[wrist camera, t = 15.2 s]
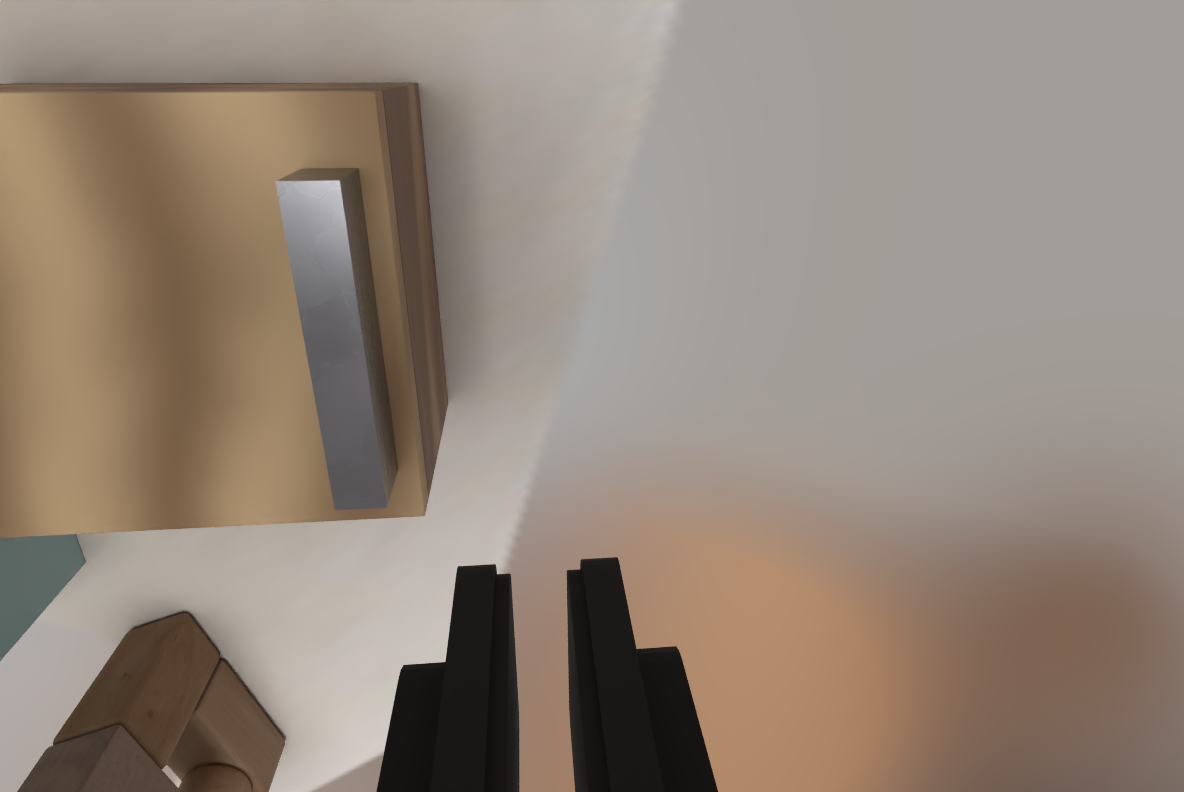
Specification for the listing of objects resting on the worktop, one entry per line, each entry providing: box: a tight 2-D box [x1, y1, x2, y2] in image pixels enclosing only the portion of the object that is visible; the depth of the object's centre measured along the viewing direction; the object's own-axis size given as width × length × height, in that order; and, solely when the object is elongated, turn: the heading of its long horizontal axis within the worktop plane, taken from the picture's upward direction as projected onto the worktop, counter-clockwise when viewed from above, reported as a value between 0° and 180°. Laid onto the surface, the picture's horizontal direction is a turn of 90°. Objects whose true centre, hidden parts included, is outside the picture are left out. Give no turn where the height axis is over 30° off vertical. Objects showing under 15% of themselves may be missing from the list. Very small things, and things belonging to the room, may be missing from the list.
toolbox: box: [0, 83, 448, 496], centre depth 27 cm, size 15×14×8 cm
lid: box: [0, 91, 429, 538], centre depth 22 cm, size 15×14×4 cm
